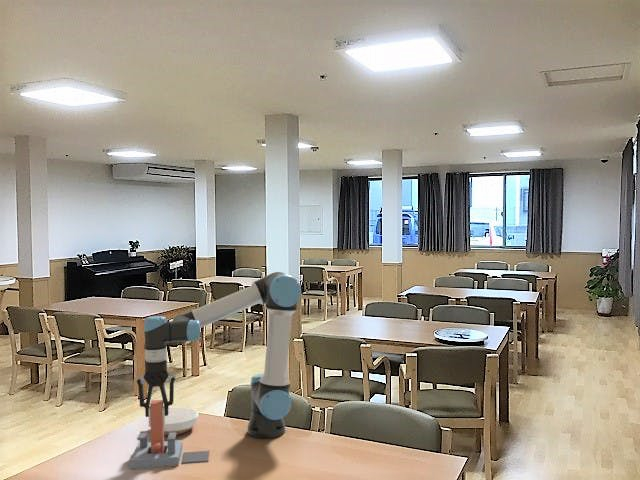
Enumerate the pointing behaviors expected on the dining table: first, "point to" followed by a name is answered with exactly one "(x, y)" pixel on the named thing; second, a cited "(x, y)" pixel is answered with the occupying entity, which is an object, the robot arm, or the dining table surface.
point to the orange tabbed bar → (156, 427)
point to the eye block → (148, 460)
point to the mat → (195, 457)
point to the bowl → (180, 420)
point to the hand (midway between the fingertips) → (157, 424)
